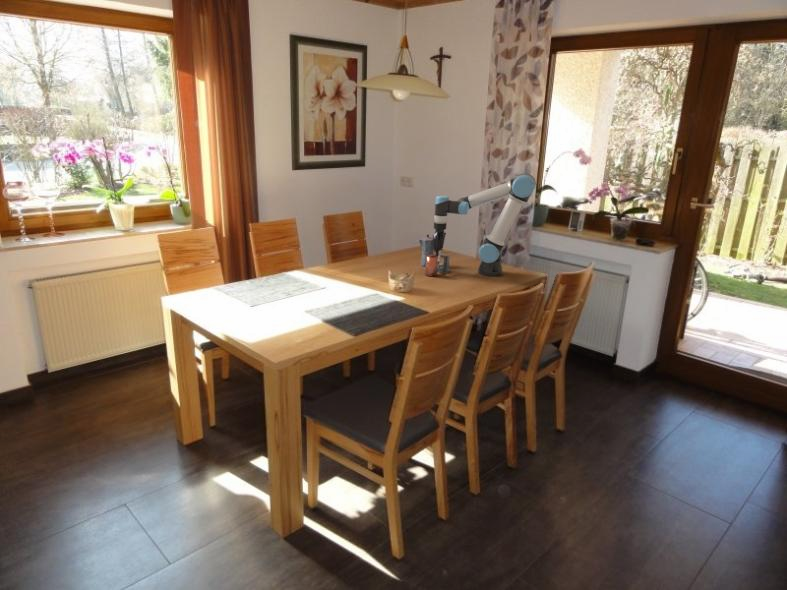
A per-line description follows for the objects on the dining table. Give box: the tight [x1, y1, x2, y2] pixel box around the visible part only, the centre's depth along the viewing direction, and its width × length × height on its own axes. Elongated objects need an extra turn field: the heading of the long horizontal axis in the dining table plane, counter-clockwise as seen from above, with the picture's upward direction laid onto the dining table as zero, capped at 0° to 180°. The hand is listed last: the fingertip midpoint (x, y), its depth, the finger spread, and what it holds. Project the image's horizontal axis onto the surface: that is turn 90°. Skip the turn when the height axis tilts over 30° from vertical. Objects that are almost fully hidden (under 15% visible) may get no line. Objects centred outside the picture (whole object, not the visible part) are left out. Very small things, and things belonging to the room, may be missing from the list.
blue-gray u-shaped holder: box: [437, 253, 451, 274], centre depth 340 cm, size 10×6×11 cm, turn 58°
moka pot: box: [417, 234, 436, 268], centre depth 351 cm, size 10×15×20 cm, turn 115°
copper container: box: [425, 253, 444, 277], centre depth 335 cm, size 7×21×12 cm, turn 148°
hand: (437, 260), depth 335 cm, fingers closed
